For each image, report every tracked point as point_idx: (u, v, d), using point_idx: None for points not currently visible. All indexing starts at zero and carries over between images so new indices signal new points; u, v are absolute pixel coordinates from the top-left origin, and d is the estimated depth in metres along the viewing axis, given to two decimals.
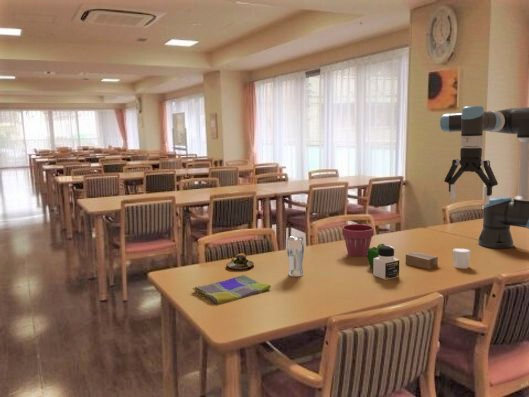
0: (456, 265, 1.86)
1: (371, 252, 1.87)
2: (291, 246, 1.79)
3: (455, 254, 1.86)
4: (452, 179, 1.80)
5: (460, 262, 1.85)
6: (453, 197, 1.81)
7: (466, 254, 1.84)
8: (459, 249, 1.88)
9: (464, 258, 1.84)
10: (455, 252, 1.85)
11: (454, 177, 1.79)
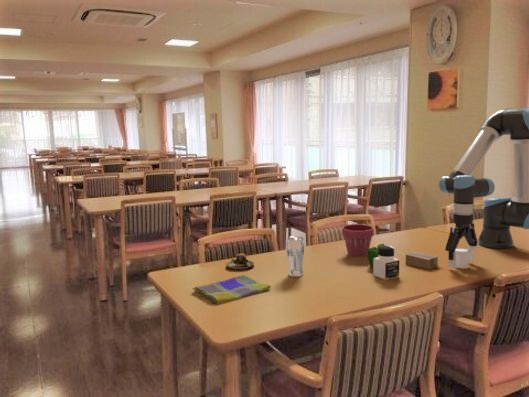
0: (456, 265, 1.86)
1: (371, 252, 1.87)
2: (291, 246, 1.79)
3: None
4: None
5: (460, 262, 1.85)
6: None
7: (466, 254, 1.84)
8: (459, 249, 1.88)
9: (464, 258, 1.84)
10: None
11: None
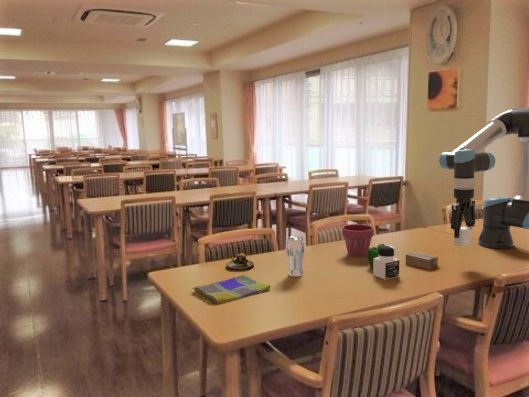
0: None
1: (371, 252, 1.87)
2: (291, 246, 1.79)
3: None
4: None
5: (461, 240, 1.84)
6: None
7: (467, 231, 1.82)
8: None
9: (466, 236, 1.83)
10: None
11: None
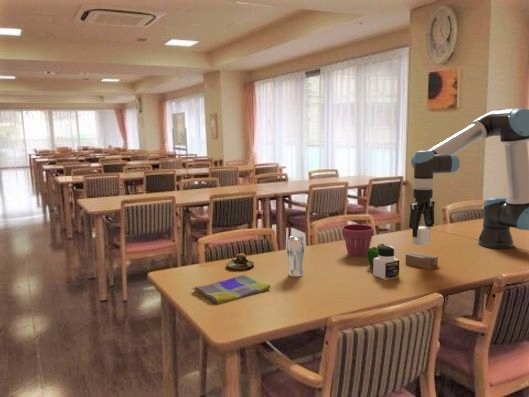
0: None
1: (371, 252, 1.87)
2: (291, 246, 1.79)
3: None
4: None
5: (419, 239, 1.87)
6: None
7: (425, 231, 1.86)
8: (419, 226, 1.90)
9: (423, 235, 1.86)
10: None
11: None
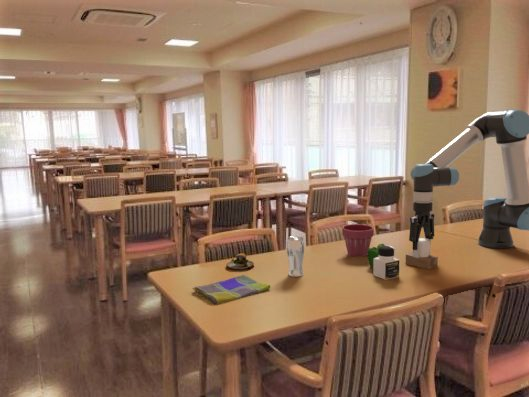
0: None
1: (371, 252, 1.87)
2: (291, 246, 1.79)
3: None
4: None
5: None
6: None
7: (425, 243, 1.87)
8: (420, 238, 1.91)
9: (424, 247, 1.87)
10: None
11: None
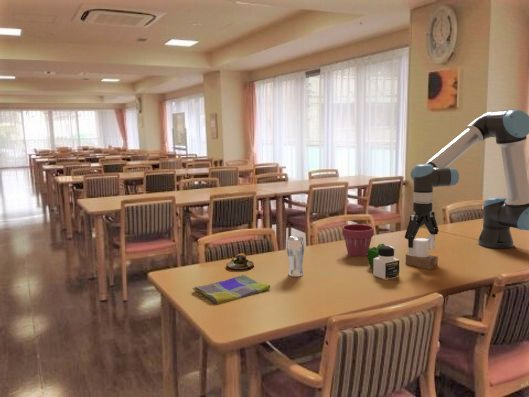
0: (416, 254, 1.89)
1: (371, 252, 1.87)
2: (291, 246, 1.79)
3: (415, 243, 1.89)
4: None
5: (419, 251, 1.88)
6: (430, 246, 1.94)
7: (425, 243, 1.87)
8: (420, 238, 1.91)
9: (424, 247, 1.87)
10: (415, 241, 1.89)
11: None
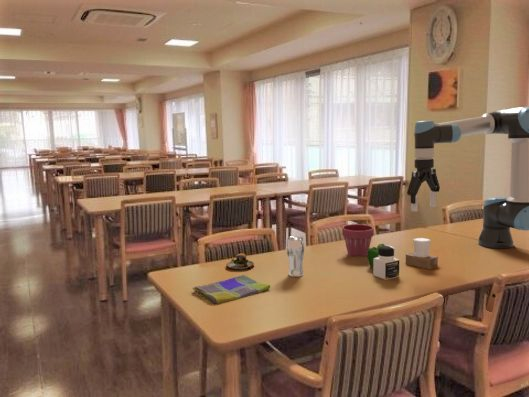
0: (416, 254, 1.89)
1: (371, 252, 1.87)
2: (291, 246, 1.79)
3: (415, 243, 1.89)
4: None
5: (419, 251, 1.88)
6: (431, 203, 1.95)
7: (425, 243, 1.87)
8: (420, 238, 1.91)
9: (424, 247, 1.87)
10: (415, 241, 1.89)
11: None
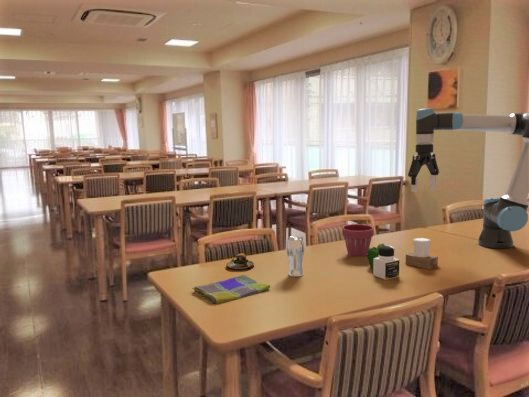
0: (416, 254, 1.89)
1: (371, 252, 1.87)
2: (291, 246, 1.79)
3: (415, 243, 1.89)
4: None
5: (419, 251, 1.88)
6: (431, 186, 2.11)
7: (425, 243, 1.87)
8: (420, 238, 1.91)
9: (424, 247, 1.87)
10: (415, 241, 1.89)
11: None
